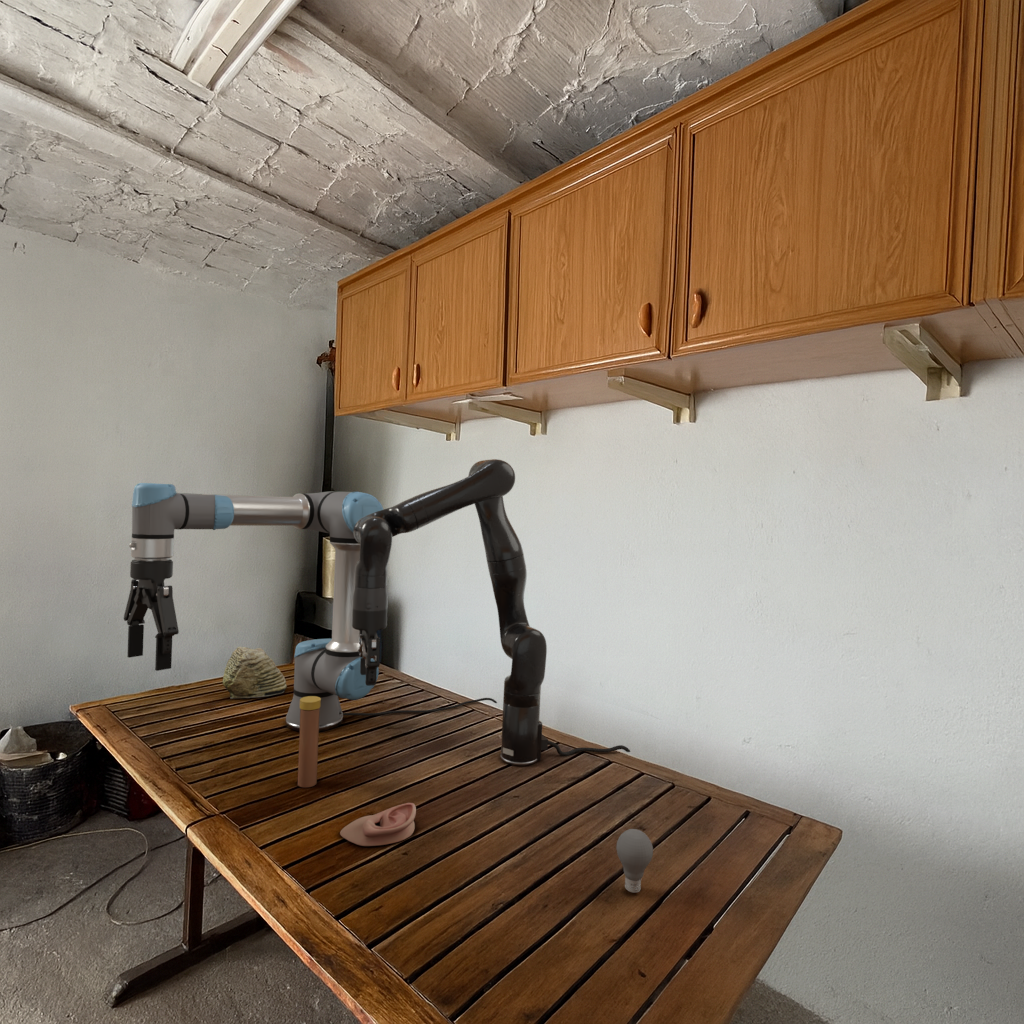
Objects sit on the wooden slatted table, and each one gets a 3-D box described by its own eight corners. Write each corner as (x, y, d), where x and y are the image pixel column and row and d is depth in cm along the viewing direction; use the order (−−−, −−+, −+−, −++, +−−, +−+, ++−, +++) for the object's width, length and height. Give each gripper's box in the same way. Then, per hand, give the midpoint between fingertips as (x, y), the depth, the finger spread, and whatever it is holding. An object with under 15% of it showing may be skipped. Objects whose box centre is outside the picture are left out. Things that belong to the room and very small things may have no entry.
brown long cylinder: (306, 789, 137) (309, 705, 137) (293, 784, 139) (296, 701, 139) (320, 782, 140) (323, 700, 140) (308, 777, 142) (311, 697, 142)
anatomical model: (332, 820, 116) (360, 792, 128) (332, 841, 116) (359, 811, 128) (400, 830, 114) (422, 801, 125) (400, 852, 114) (421, 821, 125)
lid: (309, 711, 136) (309, 703, 136) (295, 707, 139) (295, 699, 139) (324, 706, 140) (325, 698, 140) (311, 702, 142) (311, 694, 142)
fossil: (218, 695, 195) (220, 647, 195) (278, 685, 208) (279, 640, 207) (228, 703, 189) (230, 653, 188) (289, 692, 201) (290, 645, 201)
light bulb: (610, 879, 108) (613, 822, 108) (644, 879, 109) (647, 822, 109) (619, 902, 102) (622, 840, 102) (655, 901, 103) (658, 840, 103)
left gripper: (108, 554, 134) (104, 654, 134) (159, 565, 118) (155, 678, 119) (146, 552, 140) (143, 648, 140) (199, 563, 124) (195, 671, 124)
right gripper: (393, 611, 134) (390, 687, 135) (381, 600, 148) (379, 669, 148) (357, 613, 132) (354, 690, 132) (348, 601, 145) (346, 672, 145)
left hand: (148, 662), depth 129 cm, fingers open, 13 cm apart
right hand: (367, 679), depth 140 cm, fingers open, 8 cm apart
